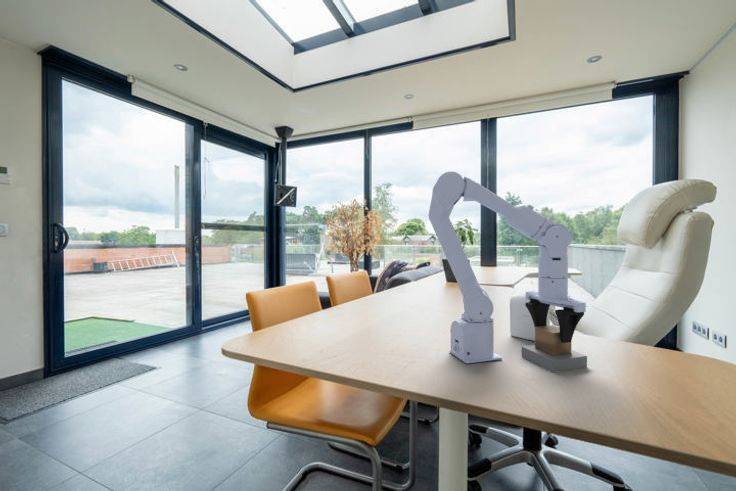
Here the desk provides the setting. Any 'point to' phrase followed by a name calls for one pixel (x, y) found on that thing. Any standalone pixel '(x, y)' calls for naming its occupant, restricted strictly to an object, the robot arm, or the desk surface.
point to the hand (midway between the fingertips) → (552, 337)
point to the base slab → (554, 359)
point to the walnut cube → (550, 341)
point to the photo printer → (522, 318)
